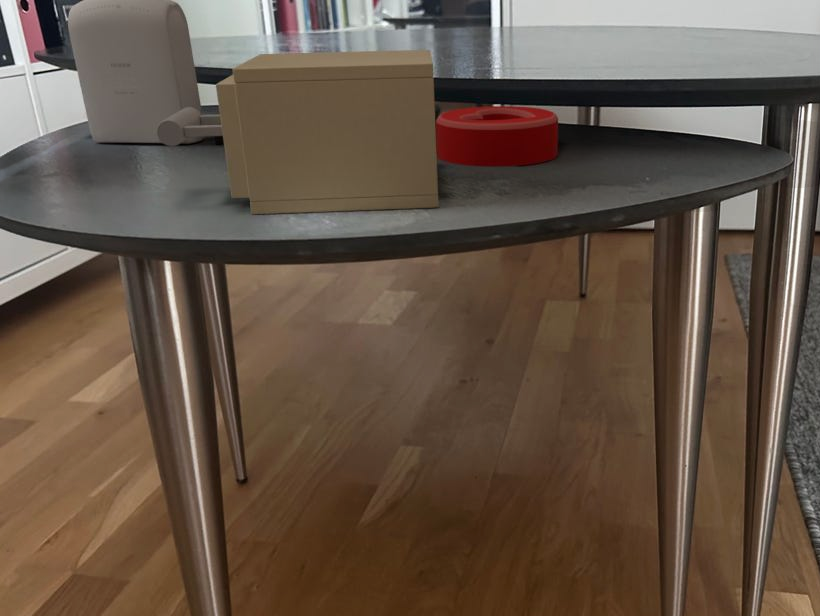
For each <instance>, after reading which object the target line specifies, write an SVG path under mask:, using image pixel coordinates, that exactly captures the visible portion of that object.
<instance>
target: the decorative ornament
mask: <svg viewBox="0 0 820 616" xmlns="http://www.w3.org/2000/svg"><path fill="white" fill-rule="evenodd" d="M435 128H436V154H437V158H438V159H439V160H440V161H443V162H446V163H450V164H453V165H454V164H455V165H462V166H471V167H516V166H517V167H518V166H519V167H520V166H529V165H535V164H540V163H541V164H542V163H544V162H548V161H551V160H554V159H555V158H556V157H557V156H558V153H559V152H558V151H559V147H558V146H559V145H558V144H559V117H558V115H557V114H556V113H555V112H553V111H552V110H548V109H544V108H539V107H530V106H516V105H515V106H513V105H511V106H510V105H506V106H505V105H502V106H500V105H495V106H493V105H491V106H477V107H476V106H475V107H474V106H473V107H466V108H465V107H464V108H458V109H453V110H448V111H445V112H443V113H441V114H439V115H438V116H437V118H436V119H435Z"/></svg>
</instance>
